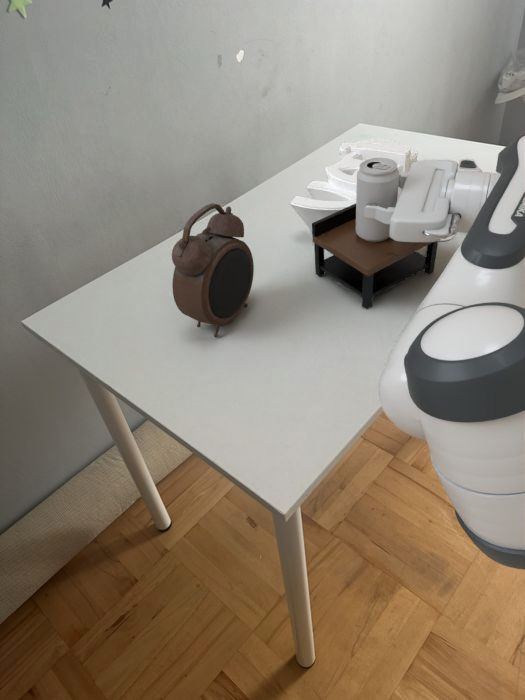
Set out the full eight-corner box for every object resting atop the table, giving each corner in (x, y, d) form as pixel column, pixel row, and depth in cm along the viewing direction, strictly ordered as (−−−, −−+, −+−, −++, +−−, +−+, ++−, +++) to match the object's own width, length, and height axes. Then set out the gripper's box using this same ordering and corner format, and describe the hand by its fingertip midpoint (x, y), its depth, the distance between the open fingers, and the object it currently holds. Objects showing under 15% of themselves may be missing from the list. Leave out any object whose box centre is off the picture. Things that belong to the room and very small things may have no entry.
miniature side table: (435, 272, 88) (443, 219, 81) (366, 310, 83) (368, 257, 76) (379, 241, 97) (382, 191, 90) (313, 274, 92) (311, 223, 85)
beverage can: (369, 220, 88) (372, 152, 80) (402, 231, 84) (408, 161, 76) (347, 237, 85) (348, 168, 77) (380, 248, 81) (384, 177, 73)
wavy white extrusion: (359, 260, 94) (360, 208, 86) (284, 240, 101) (279, 191, 94) (429, 180, 113) (434, 132, 106) (361, 169, 121) (363, 124, 114)
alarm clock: (217, 351, 80) (191, 241, 66) (182, 338, 83) (150, 230, 69) (266, 299, 88) (252, 192, 74) (232, 289, 91) (213, 184, 78)
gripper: (452, 258, 71) (355, 247, 76) (466, 191, 84) (383, 185, 89) (459, 217, 67) (356, 209, 71) (473, 153, 80) (385, 150, 85)
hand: (371, 195), depth 80 cm, fingers open, 8 cm apart
